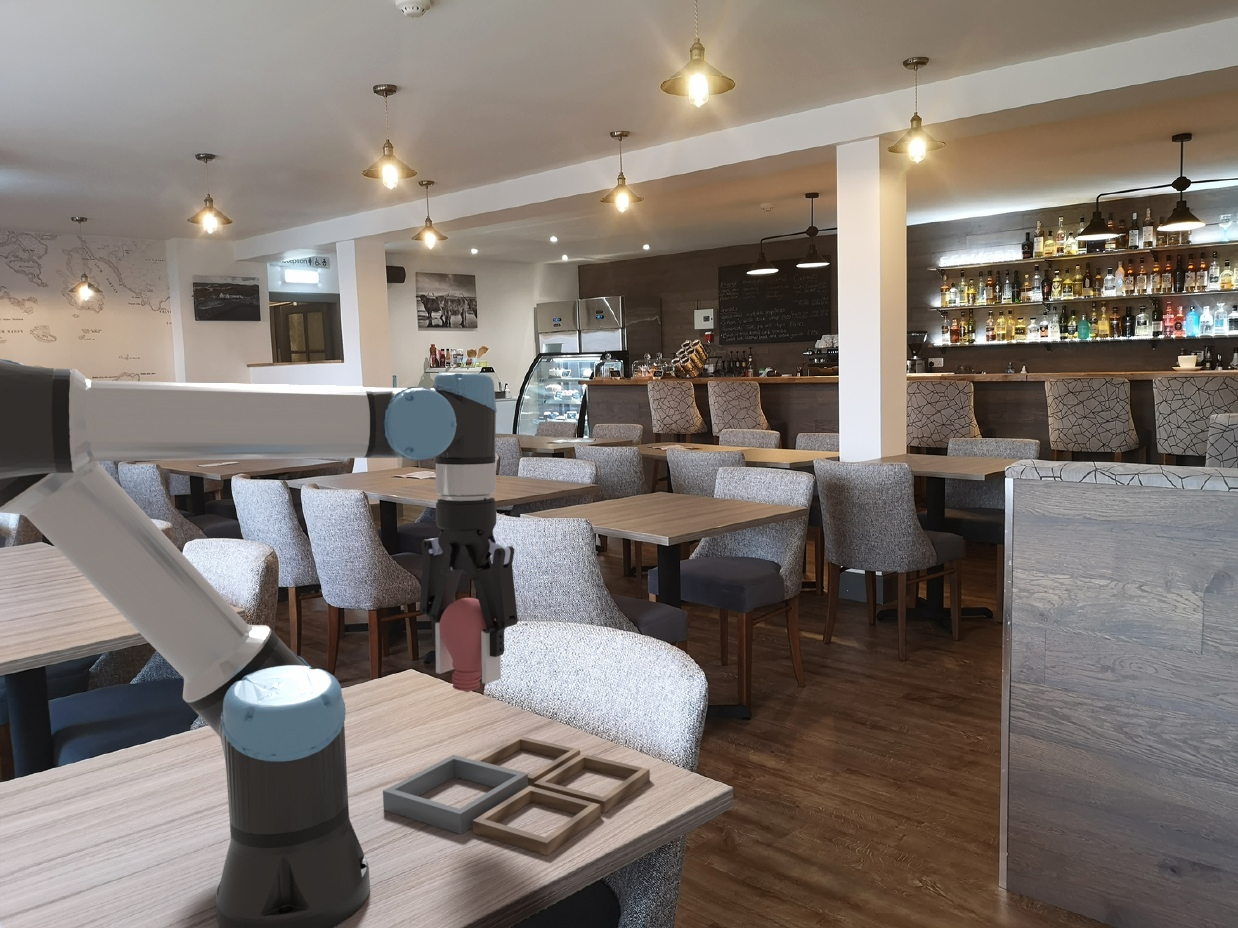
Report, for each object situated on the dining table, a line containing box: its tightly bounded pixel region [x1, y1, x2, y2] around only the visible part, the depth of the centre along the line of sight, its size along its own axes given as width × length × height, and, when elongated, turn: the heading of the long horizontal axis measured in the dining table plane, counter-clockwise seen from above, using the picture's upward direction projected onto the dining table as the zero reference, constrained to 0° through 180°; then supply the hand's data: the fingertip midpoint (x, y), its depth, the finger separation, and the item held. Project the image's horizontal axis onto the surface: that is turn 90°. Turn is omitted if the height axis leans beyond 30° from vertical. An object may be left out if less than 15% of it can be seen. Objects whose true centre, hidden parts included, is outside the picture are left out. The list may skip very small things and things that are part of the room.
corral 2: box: [473, 735, 581, 787], centre depth 130 cm, size 11×11×2 cm
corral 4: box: [534, 753, 651, 814], centre depth 123 cm, size 11×11×2 cm
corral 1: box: [382, 754, 528, 835], centre depth 119 cm, size 13×13×2 cm
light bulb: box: [439, 597, 496, 693], centre depth 118 cm, size 7×7×12 cm
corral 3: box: [472, 786, 602, 856], centre depth 112 cm, size 11×11×2 cm
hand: (468, 675), depth 118 cm, fingers closed on light bulb, 7 cm apart
